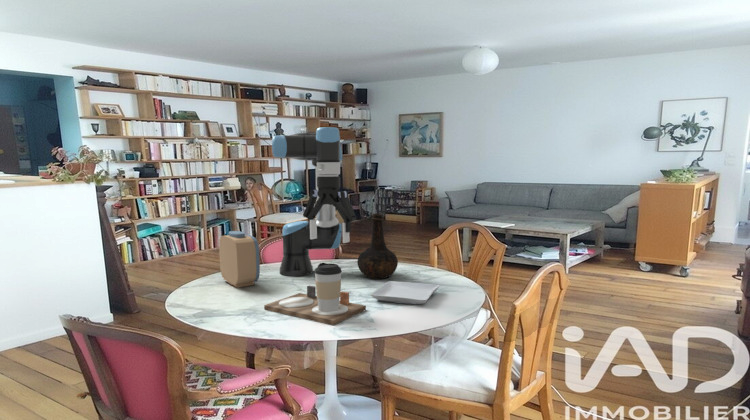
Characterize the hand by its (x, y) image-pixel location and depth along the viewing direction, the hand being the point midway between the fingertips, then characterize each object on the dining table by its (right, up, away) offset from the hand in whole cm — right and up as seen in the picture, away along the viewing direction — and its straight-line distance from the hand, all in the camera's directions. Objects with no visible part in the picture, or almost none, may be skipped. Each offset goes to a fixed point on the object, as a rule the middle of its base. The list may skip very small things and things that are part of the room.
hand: (329, 240), depth 155 cm
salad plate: (+27, -23, +22) cm, 41 cm away
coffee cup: (0, -23, +2) cm, 23 cm away
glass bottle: (+16, -20, +53) cm, 59 cm away
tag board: (-6, -24, +7) cm, 26 cm away
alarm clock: (-42, -21, +43) cm, 63 cm away
